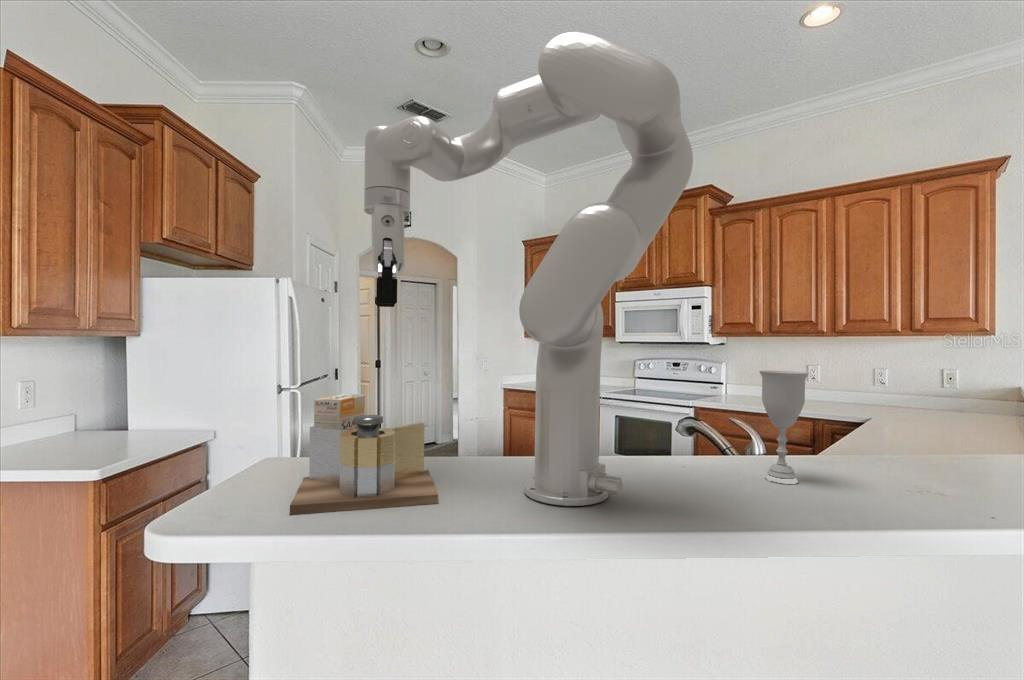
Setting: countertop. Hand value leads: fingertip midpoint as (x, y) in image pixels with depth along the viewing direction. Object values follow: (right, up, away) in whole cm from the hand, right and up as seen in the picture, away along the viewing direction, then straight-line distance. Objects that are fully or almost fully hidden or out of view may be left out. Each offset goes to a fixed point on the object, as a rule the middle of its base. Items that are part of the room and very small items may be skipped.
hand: (386, 305), depth 84 cm
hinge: (0, -27, -11) cm, 29 cm away
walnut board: (0, -28, -12) cm, 31 cm away
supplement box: (-7, -29, -2) cm, 29 cm away
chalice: (+66, -29, -2) cm, 73 cm away
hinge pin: (+1, -27, -14) cm, 31 cm away
